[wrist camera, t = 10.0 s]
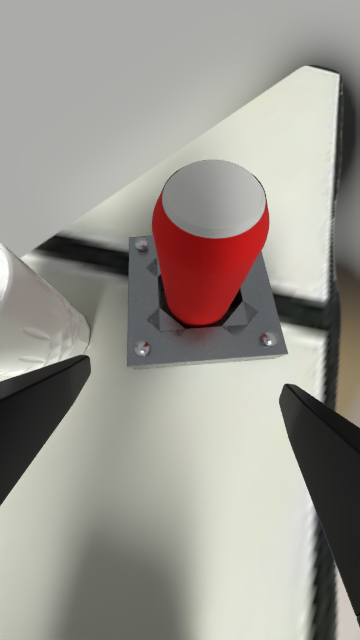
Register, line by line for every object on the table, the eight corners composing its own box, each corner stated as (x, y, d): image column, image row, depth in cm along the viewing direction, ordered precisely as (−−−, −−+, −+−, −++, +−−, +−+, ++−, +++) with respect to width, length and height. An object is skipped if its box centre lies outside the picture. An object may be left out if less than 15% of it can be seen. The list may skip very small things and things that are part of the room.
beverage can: (171, 335, 19) (153, 257, 8) (164, 280, 21) (140, 154, 10) (233, 326, 19) (305, 237, 8) (219, 273, 21) (261, 140, 10)
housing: (274, 358, 18) (291, 352, 15) (134, 369, 18) (124, 365, 15) (247, 245, 22) (257, 223, 19) (135, 253, 22) (127, 232, 19)
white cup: (-2, 349, 19) (-190, 310, 9) (58, 289, 21) (-46, 208, 11) (54, 399, 17) (-105, 413, 8) (113, 329, 19) (44, 272, 10)
